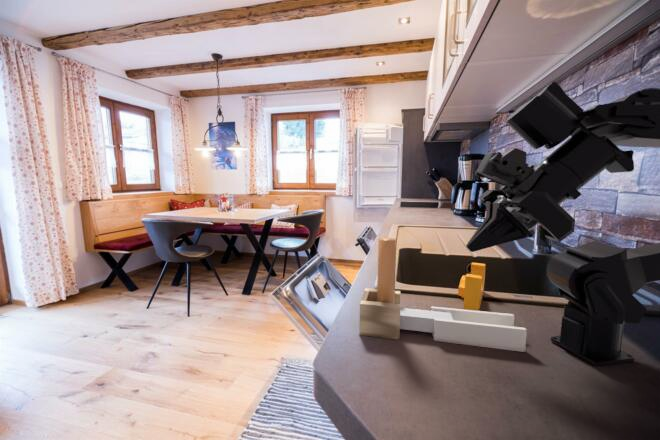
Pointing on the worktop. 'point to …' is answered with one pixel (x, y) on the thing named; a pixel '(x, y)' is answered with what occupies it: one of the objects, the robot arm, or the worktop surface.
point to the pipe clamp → (473, 287)
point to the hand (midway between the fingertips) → (468, 249)
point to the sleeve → (479, 329)
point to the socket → (379, 316)
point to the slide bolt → (386, 291)
